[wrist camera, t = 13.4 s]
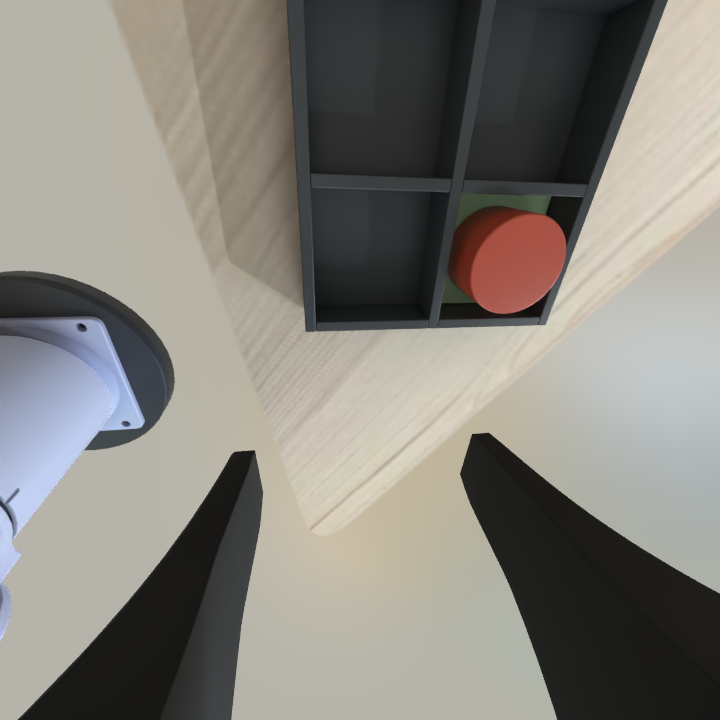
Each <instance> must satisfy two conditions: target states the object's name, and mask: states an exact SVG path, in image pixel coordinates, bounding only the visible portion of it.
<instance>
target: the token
mask: <svg viewBox="0 0 720 720" xmlns="http://www.w3.org/2000/svg"><path fill="white" fill-rule="evenodd" d="M565 257H566V241H565V236H564V234H563V231H562V229H561V228H560V226H559V225H558V224H557V223H556V221H554V220H553V219H552V218H550V217H548V216H546V215H543V214H540V213H535V212H530V211H525V210H520V209H515V208H510V207H505V206H489V207H485V208H482V209H480V210H478V211H476V212H474V213H473V214H471V215H470V216H468V217H467V218H466V219H465V220H464V221H463V222H462V223H461V224H460V225H459V226H458V227H457V229H456V230H455V232H454V236H453V242H452V247H451V253H450V258H449V264H448V269H447V272H448V275H449V277H450V279H451V281H452V282H453V283H454V285H455V286H457V287H458V288H459V289H460V290H461V291H463V292H464V293H465V294H466V295H468V296H469V297H470V298H471V299H473V300H474V301H475V302H476V303H478V304H479V305H480V306H481V307H483V308H484V309H486V310H488V311H490V312H493V313H500V314H507V313H514V312H517V311H520V310H523V309H525V308H527V307H529V306H531V305H533V304H534V303H536V302H537V301H538V300H540V299H541V298H542V297H543V296H544V295H545V294H546V293H547V292H548V291H549V290H550V289H551V287H552V286H553V285H554V283H555V282H556V280H557V278H558V277H559V275H560V273H561V270H562V268H563V265H564V262H565Z"/></svg>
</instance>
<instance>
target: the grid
mask: <svg viewBox="0 0 720 720" xmlns="http://www.w3.org/2000/svg"><path fill="white" fill-rule="evenodd" d="M667 1H668V0H287V16H288V34H289V51H290V68H291V85H292V103H293V120H294V137H295V154H296V172H297V189H298V206H299V224H300V241H301V258H302V275H303V293H304V310H305V327H306V332H315V331H350V330H385V329H421V328H456V327H491V326H526V325H546V322H547V320H548V317H549V314H550V312H551V309H552V307H553V304H554V301H555V299H556V296H557V293H558V291H559V288H560V285H561V283H562V280H563V277H564V275H565V272H566V269H567V267H568V264H569V261H570V259H571V256H572V253H573V251H574V248H575V245H576V243H577V240H578V237H579V235H580V232H581V230H582V227H583V224H584V222H585V219H586V216H587V214H588V211H589V208H590V206H591V203H592V200H593V198H594V195H595V192H596V190H597V187H598V184H599V182H600V179H601V176H602V174H603V171H604V168H605V166H606V163H607V160H608V158H609V155H610V152H611V150H612V147H613V145H614V142H615V139H616V137H617V134H618V131H619V129H620V126H621V123H622V121H623V118H624V115H625V113H626V110H627V107H628V105H629V102H630V99H631V97H632V94H633V91H634V89H635V86H636V83H637V81H638V78H639V75H640V73H641V70H642V68H643V65H644V62H645V60H646V57H647V54H648V52H649V49H650V46H651V44H652V41H653V38H654V36H655V33H656V30H657V28H658V25H659V22H660V20H661V17H662V14H663V12H664V9H665V6H666V4H667ZM489 206H505V207H510V208H515V209H520V210H525V211H530V212H535V213H540V214H543V215H546V216H548V217H550V218H552V219H553V220H554V221H556V223H557V224H558V225H559V226H560V228H561V229H562V231H563V234H564V236H565V241H566V257H565V262H564V265H563V268H562V270H561V273H560V275H559V277H558V278H557V280H556V282H555V283H554V285H553V286H552V287H551V289H550V290H549V291H548V292H547V293H546V294H545V295H544V296H543V297H542V298H541V299H540V300H538V301H537V302H536V303H534V304H533V305H531V306H529V307H527V308H525V309H523V310H520V311H517V312H514V313H507V314H500V313H493V312H490V311H488V310H486V309H484V308H483V307H481V306H480V305H479V304H478V303H476V302H475V301H474V300H473V299H471V298H470V297H469V296H468V295H466V294H465V293H464V292H463V291H461V290H460V289H459V288H458V287H457V286H455V285H454V283H453V282H452V281H451V279H450V277H449V275H448V272H447V269H448V264H449V258H450V253H451V247H452V242H453V236H454V232H455V230H456V229H457V227H458V226H459V225H460V224H461V223H462V222H463V221H464V220H465V219H466V218H467V217H468V216H470V215H471V214H473V213H474V212H476V211H478V210H480V209H482V208H485V207H489Z"/></svg>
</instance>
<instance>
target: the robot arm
mask: <svg viewBox="0 0 720 720" xmlns="http://www.w3.org/2000/svg"><path fill="white" fill-rule="evenodd" d="M80 323H81V324H83V325H85V326H86V328H87V329H85V328H83V327H81V325H80ZM126 421H128V422H129V423H128V422H126ZM144 422H145V419H144V417H143V414H142V412H141V410H140V407H139V405H138V403H137V400H136V398H135V395H134V393H133V391H132V388H131V386H130V384H129V381H128V379H127V376H126V374H125V372H124V369H123V367H122V364H121V362H120V360H119V357H118V355H117V353H116V350H115V348H114V345H113V343H112V341H111V338H110V336H109V334H108V331H107V329H106V326H105V324H104V323H103V321H102V320H100V319H99V318H97V317H92V316H82V317H31V318H0V641H1V639H2V637H3V635H4V633H5V631H6V628H7V624H8V622H9V618H10V615H11V608H12V601H11V595H10V593H9V591H8V589H7V587H6V586H5V585H3V584H2V583H1V582H2V581H3V579H4V578H5V577H6V575H7V574H8V573H9V571H10V570H11V569H12V567H13V566H14V565H15V563H16V562H17V560H18V559H19V558H20V556H21V554H20V553H19V552H18V551H17V550H16V549H15V548H14V546H13V545H12V540H13V539H14V538H15V537H16V535H17V534H18V532H19V531H20V530H21V529H22V528H23V526H24V525H25V524H26V523H27V521H28V520H29V519H30V518H31V516H32V515H33V514H34V513H35V511H36V510H37V508H38V507H39V506H40V505H41V504H42V502H43V501H44V500H45V499H46V497H47V496H48V495H49V494H50V492H51V491H52V490H53V488H54V487H55V486H56V485H57V483H58V482H59V481H60V480H61V478H62V477H63V476H64V475H65V473H66V472H67V471H68V469H69V468H70V467H71V466H72V464H73V463H74V462H75V461H76V459H77V458H78V457H79V456H80V454H81V453H82V452H83V451H84V449H85V448H86V447H87V445H88V444H89V443H90V442H91V440H92V439H93V438H94V437H95V435H96V434H97V433H98V432H99V431H106V430H121V429H137V428H140V427H142V426H143V424H144ZM460 475H461V478H462V481H463V484H464V488H465V490H466V493H467V496H468V499H469V501H470V504H471V506H472V508H473V510H474V513H475V515H476V517H477V519H478V521H479V523H480V525H481V527H482V529H483V531H484V533H485V535H486V537H487V539H488V541H489V543H490V545H491V547H492V549H493V552H494V554H495V556H496V558H497V560H498V562H499V564H500V566H501V568H502V570H503V572H504V574H505V576H506V579H507V581H508V583H509V585H510V588H511V590H512V593H513V595H514V598H515V601H516V603H517V606H518V608H519V611H520V613H521V616H522V619H523V621H524V624H525V626H526V629H527V632H528V635H529V638H530V640H531V643H532V646H533V649H534V651H535V654H536V656H537V660H538V662H539V665H540V668H541V671H542V674H543V677H544V680H545V683H546V686H547V689H548V692H549V695H550V698H551V701H552V704H553V707H554V710H555V713H556V717H557V720H720V594H719V593H717V592H716V591H714V590H712V589H710V588H708V587H706V586H705V585H703V584H701V583H699V582H697V581H696V580H694V579H692V578H690V577H689V576H687V575H685V574H683V573H682V572H680V571H678V570H676V569H675V568H673V567H671V566H670V565H668V564H666V563H665V562H663V561H661V560H660V559H658V558H657V557H655V556H653V555H651V554H650V553H648V552H647V551H645V550H643V549H642V548H640V547H639V546H637V545H635V544H634V543H632V542H631V541H629V540H628V539H626V538H625V537H623V536H622V535H620V534H619V533H617V532H616V531H614V530H613V529H611V528H609V527H608V526H607V525H605V524H604V523H602V522H601V521H599V520H598V519H596V518H595V517H593V516H592V515H591V514H589V513H588V512H587V511H585V510H584V509H583V508H581V507H580V506H578V505H577V504H576V503H575V502H573V501H572V500H571V499H569V498H568V497H567V496H565V495H564V494H563V493H561V492H560V491H559V490H558V489H556V488H555V487H554V486H552V485H551V484H550V483H549V482H547V481H546V480H545V479H544V478H543V477H541V476H540V475H539V474H538V473H536V472H535V471H534V470H533V469H531V468H530V467H529V466H528V465H527V464H525V463H524V462H523V461H522V460H521V459H520V458H518V457H517V456H516V455H515V454H514V453H512V452H511V451H510V450H509V449H508V448H507V447H505V446H504V445H503V444H502V443H501V442H499V441H498V440H497V439H496V438H495V437H493V436H492V435H491V434H490V433H482V434H472V436H471V440H470V443H469V447H468V450H467V453H466V456H465V459H464V463H463V466H462V469H461V473H460ZM262 497H263V490H262V485H261V479H260V474H259V469H258V464H257V459H256V454H255V451H254V450H253V451H241V452H240V451H239V452H234V453H233V454H232V455H231V457H230V458H229V460H228V462H227V464H226V465H225V467H224V469H223V471H222V472H221V474H220V476H219V477H218V479H217V481H216V482H215V484H214V486H213V487H212V489H211V490H210V492H209V493H208V495H207V496H206V498H205V499H204V501H203V502H202V504H201V505H200V507H199V508H198V510H197V511H196V513H195V514H194V516H193V518H192V519H191V520H190V522H189V524H188V525H187V526H186V528H185V529H184V530H183V532H182V533H181V535H180V536H179V537H178V539H177V540H176V541H175V543H174V544H173V545H172V547H171V548H170V550H169V551H168V552H167V554H166V555H165V556H164V557H163V559H162V560H161V561H160V563H159V564H158V565H157V566H156V568H155V569H154V570H153V572H152V573H151V574H150V575H149V577H148V578H147V579H146V580H145V582H144V583H143V584H142V585H141V586H140V588H139V589H138V590H137V591H136V593H135V594H134V595H133V596H132V597H131V599H130V600H129V601H128V602H127V603H126V604H125V605H124V607H123V608H122V609H121V610H120V611H119V612H118V613H117V615H116V616H115V617H114V618H113V619H112V620H111V621H110V623H109V624H108V625H107V626H106V627H105V628H104V629H103V631H102V632H101V633H100V634H99V635H98V636H97V637H96V638H95V639H94V641H93V642H92V643H91V644H90V645H89V646H88V647H87V648H86V649H85V650H84V652H83V653H82V654H81V655H80V656H79V657H78V658H77V659H76V660H75V661H74V662H73V663H72V664H71V665H70V666H69V667H68V668H67V669H66V671H65V672H64V673H63V674H62V675H61V676H60V677H59V678H58V679H57V680H56V681H55V682H54V683H53V684H52V685H51V686H50V687H49V688H48V689H47V690H46V691H45V692H44V694H42V695H41V696H40V698H39V699H38V700H37V701H36V702H35V703H34V704H33V705H32V706H31V707H30V708H29V709H28V710H27V711H26V712H25V713H24V714H23V715H22V716H21V717H20V718H19V719H18V720H231V715H232V706H233V696H234V686H235V676H236V667H237V658H238V649H239V641H240V632H241V624H242V618H243V611H244V606H245V601H246V595H247V591H248V585H249V580H250V575H251V570H252V565H253V560H254V555H255V550H256V544H257V539H258V534H259V528H260V521H261V510H262Z"/></svg>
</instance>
